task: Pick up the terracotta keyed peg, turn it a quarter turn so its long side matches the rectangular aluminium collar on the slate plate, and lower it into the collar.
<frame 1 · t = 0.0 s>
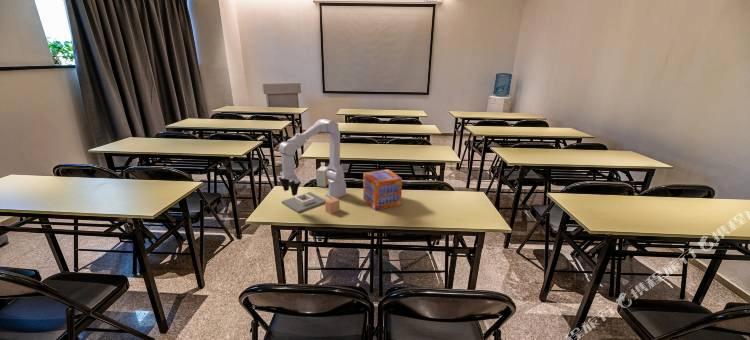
hand: (290, 192, 152), 10 cm above the table, tool pointing down, fingers open, 7 cm apart
keyed socket: (304, 202, 165), on the table
keyed peg: (332, 211, 156), on the table
game box: (381, 202, 167), on the table
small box: (323, 184, 189), on the table
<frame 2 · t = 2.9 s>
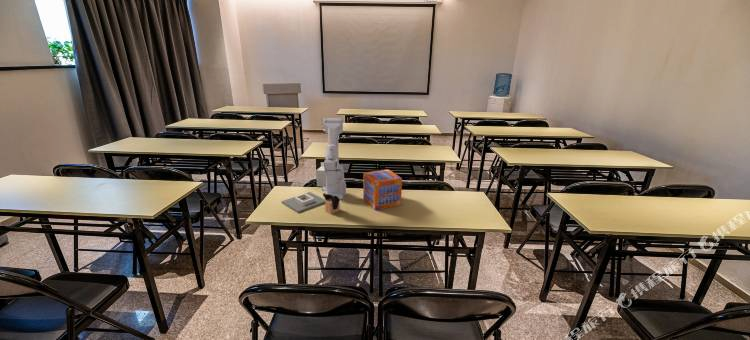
hand: (332, 207, 156), 2 cm above the table, tool pointing down, fingers closed on keyed peg, 4 cm apart
keyed peg: (332, 210, 156), on the table, touching gripper
everything else where it was.
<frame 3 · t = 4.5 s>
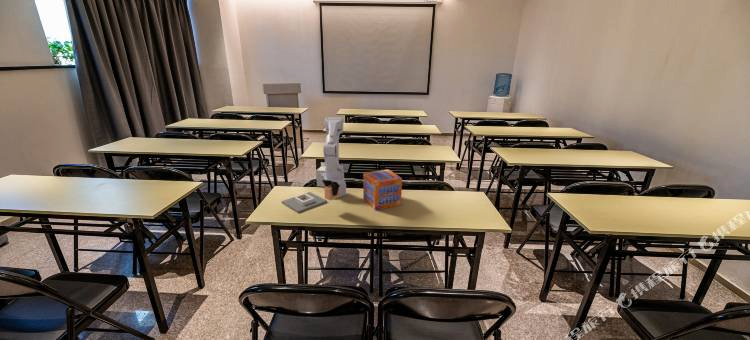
hand: (332, 194, 153), 9 cm above the table, tool pointing down, fingers closed on keyed peg, 4 cm apart
keyed peg: (332, 197, 154), point 7 cm above the table, touching gripper
everything else where it was.
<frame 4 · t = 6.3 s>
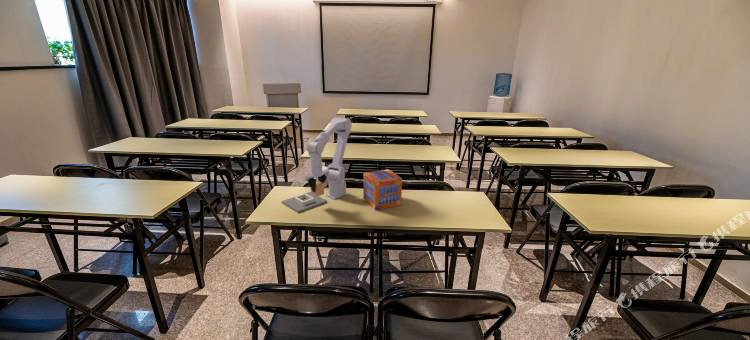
hand: (317, 190, 157), 9 cm above the table, tool pointing down, fingers closed on keyed peg, 4 cm apart
keyed peg: (317, 193, 158), point 7 cm above the table, touching gripper
everything else where it was.
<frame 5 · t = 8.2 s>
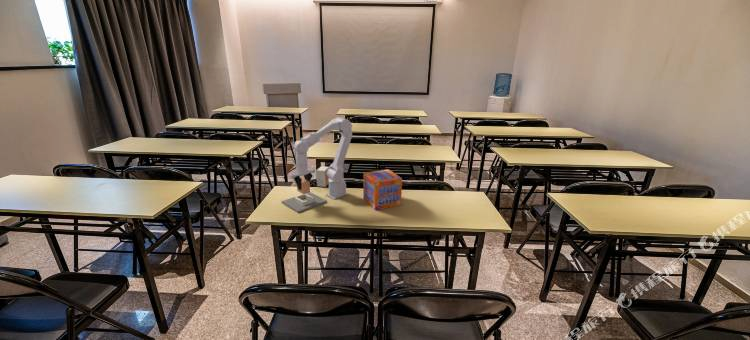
hand: (303, 188, 162), 8 cm above the table, tool pointing down, fingers closed on keyed peg, 4 cm apart
keyed peg: (303, 191, 162), point 7 cm above the table, touching gripper
everything else where it was.
when the fingers open (4 cm above the table, at t = 9.9 s): keyed peg stays where it is, resting on keyed socket.
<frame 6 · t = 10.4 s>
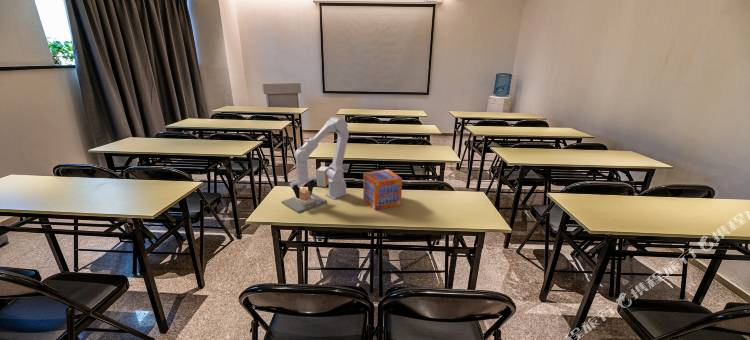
hand: (304, 196, 163), 4 cm above the table, tool pointing down, fingers open, 7 cm apart
keyed peg: (304, 200, 164), point 1 cm above the table, touching keyed socket
everything else where it was.
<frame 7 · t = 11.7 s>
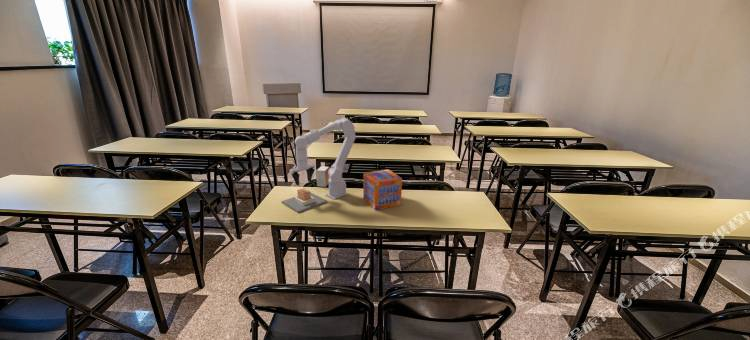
hand: (303, 183, 166), 9 cm above the table, tool pointing down, fingers open, 7 cm apart
nothing on the table moved.
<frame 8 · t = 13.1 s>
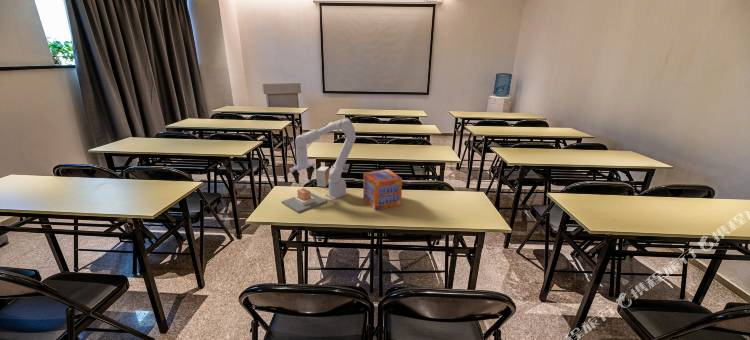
hand: (303, 181, 168), 9 cm above the table, tool pointing down, fingers open, 7 cm apart
nothing on the table moved.
at the end: keyed peg 0.0 cm off-centre on the keyed socket, point 1.0 cm above the keyed socket's base; keyed peg tilted 0°; the gripper is holding nothing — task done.
